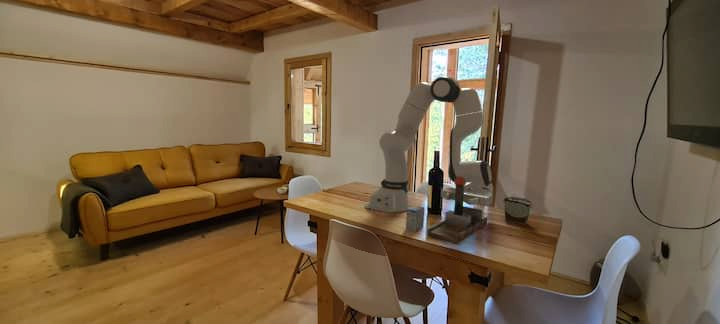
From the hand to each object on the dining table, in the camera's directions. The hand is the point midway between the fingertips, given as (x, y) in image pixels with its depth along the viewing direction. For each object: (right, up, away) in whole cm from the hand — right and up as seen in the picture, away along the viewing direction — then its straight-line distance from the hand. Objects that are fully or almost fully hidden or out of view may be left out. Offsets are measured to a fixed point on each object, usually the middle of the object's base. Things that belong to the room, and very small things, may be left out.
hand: (458, 199), depth 123 cm
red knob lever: (0, -11, +2) cm, 11 cm away
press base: (+1, -13, +4) cm, 13 cm away
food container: (+32, -12, +16) cm, 38 cm away
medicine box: (-16, -12, +5) cm, 21 cm away
